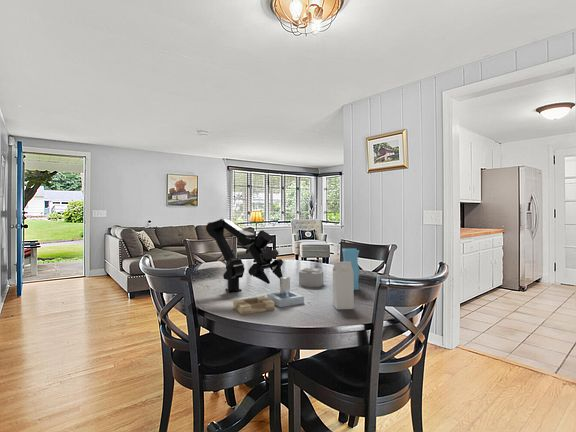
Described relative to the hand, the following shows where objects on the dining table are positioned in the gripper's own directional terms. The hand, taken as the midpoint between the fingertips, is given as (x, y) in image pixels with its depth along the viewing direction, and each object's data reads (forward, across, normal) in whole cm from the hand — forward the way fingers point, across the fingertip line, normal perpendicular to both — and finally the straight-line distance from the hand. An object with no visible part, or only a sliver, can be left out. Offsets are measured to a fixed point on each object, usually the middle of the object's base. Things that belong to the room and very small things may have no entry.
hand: (276, 281), depth 149 cm
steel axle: (+9, 0, +2) cm, 9 cm away
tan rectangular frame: (+7, -16, +5) cm, 18 cm away
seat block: (+10, 0, +2) cm, 10 cm away
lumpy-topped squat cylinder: (+3, +34, +10) cm, 36 cm away
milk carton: (+27, +9, -15) cm, 32 cm away
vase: (+17, +40, -6) cm, 44 cm away
